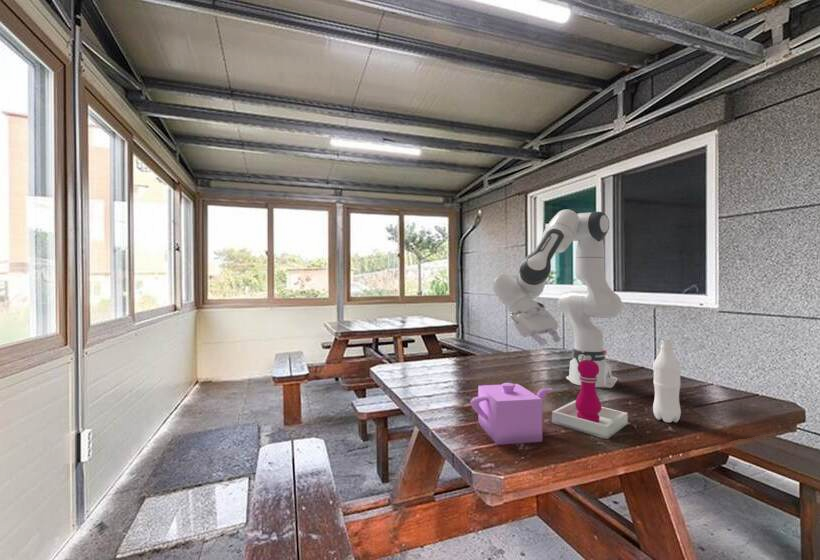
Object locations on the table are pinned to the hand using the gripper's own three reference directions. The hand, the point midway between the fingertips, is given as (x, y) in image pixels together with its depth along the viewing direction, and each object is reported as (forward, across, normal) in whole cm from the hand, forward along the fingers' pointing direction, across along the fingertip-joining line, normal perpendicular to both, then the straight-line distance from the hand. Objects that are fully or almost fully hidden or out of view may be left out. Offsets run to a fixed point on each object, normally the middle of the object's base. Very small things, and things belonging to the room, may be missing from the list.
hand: (551, 342), depth 124 cm
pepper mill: (+24, 0, +8) cm, 25 cm away
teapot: (+16, -23, +17) cm, 33 cm away
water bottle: (+36, +21, -3) cm, 42 cm away
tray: (+25, 0, +8) cm, 26 cm away
